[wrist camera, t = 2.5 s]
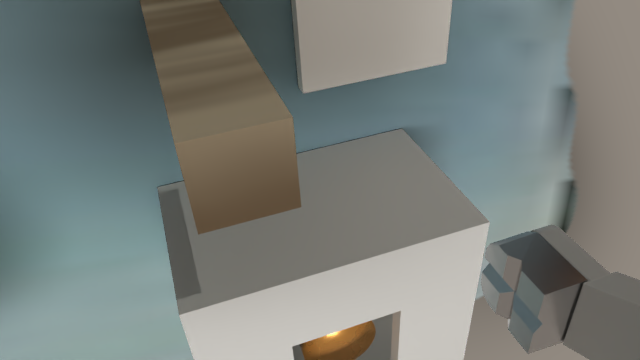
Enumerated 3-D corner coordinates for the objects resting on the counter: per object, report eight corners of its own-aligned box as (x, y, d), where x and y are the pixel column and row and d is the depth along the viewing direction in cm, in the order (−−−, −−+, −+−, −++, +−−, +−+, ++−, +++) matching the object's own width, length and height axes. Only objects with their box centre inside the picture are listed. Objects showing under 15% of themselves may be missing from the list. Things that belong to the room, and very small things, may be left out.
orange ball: (278, 273, 29) (300, 331, 26) (346, 253, 30) (376, 306, 27) (284, 319, 31) (306, 378, 28) (347, 299, 32) (375, 354, 29)
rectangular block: (139, -2, 22) (174, 143, 13) (210, -13, 23) (292, 117, 13) (156, 65, 24) (197, 234, 15) (222, 52, 24) (301, 207, 15)
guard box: (157, 187, 27) (179, 315, 20) (402, 128, 30) (489, 222, 24) (206, 349, 36) (233, 477, 29) (394, 289, 39) (457, 392, 32)
